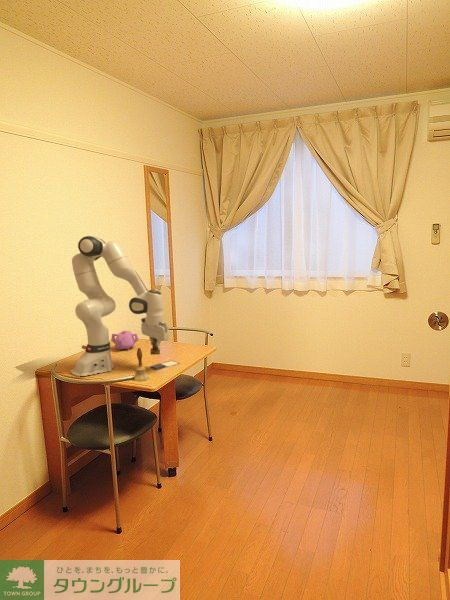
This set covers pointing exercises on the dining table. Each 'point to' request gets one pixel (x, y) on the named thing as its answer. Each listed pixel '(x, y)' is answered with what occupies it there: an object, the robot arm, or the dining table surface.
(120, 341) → the pot
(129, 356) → the dining table surface
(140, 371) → the hand bell
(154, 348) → the stamp
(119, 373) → the dining table surface
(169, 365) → the marked card
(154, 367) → the ink pad
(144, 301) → the robot arm
